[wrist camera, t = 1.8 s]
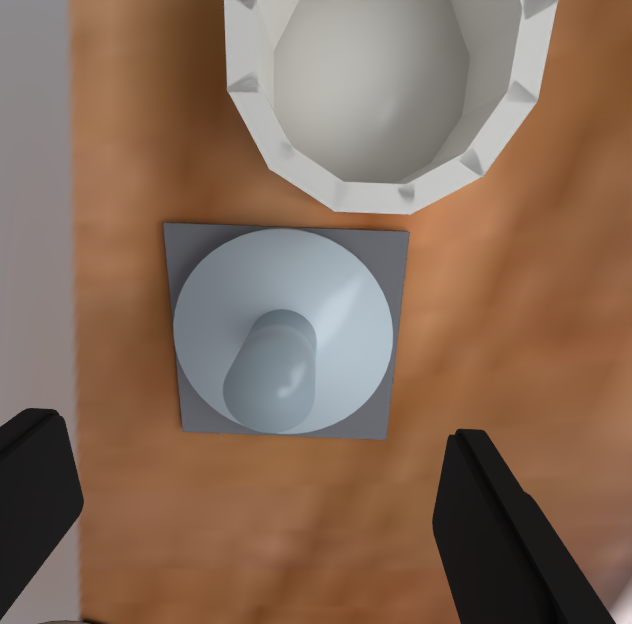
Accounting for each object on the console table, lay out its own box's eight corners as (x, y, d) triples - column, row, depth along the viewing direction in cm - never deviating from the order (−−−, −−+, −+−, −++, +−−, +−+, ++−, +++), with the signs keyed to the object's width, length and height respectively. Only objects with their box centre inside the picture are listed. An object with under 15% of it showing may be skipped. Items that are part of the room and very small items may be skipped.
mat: (385, 435, 21) (386, 439, 21) (185, 427, 21) (182, 431, 21) (407, 231, 18) (409, 232, 17) (166, 222, 18) (162, 223, 17)
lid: (379, 424, 21) (401, 515, 15) (190, 417, 21) (138, 504, 15) (399, 231, 17) (439, 249, 11) (173, 223, 17) (96, 237, 11)
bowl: (462, 212, 17) (514, 219, 13) (255, 205, 17) (230, 208, 13) (502, -48, 14) (593, -171, 9) (251, -57, 14) (216, -182, 10)
